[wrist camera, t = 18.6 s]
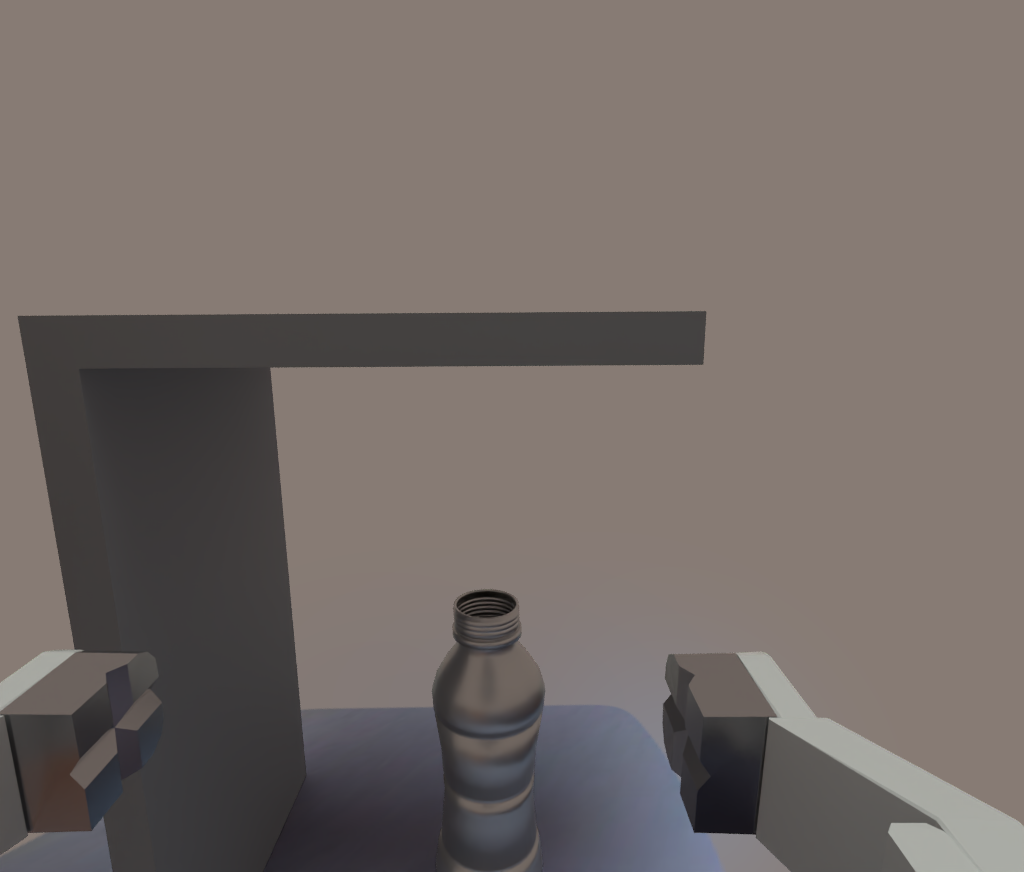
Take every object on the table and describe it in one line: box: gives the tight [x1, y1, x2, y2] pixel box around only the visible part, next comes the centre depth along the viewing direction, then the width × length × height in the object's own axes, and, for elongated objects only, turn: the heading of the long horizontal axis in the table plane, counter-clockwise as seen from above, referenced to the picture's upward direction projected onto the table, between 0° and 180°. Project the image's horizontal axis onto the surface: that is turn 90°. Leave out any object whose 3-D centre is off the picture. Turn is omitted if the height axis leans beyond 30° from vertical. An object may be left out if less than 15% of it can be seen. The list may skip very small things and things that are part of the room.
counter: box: [18, 311, 706, 872], centre depth 35 cm, size 26×18×36 cm
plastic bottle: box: [432, 589, 545, 872], centre depth 35 cm, size 6×7×20 cm
